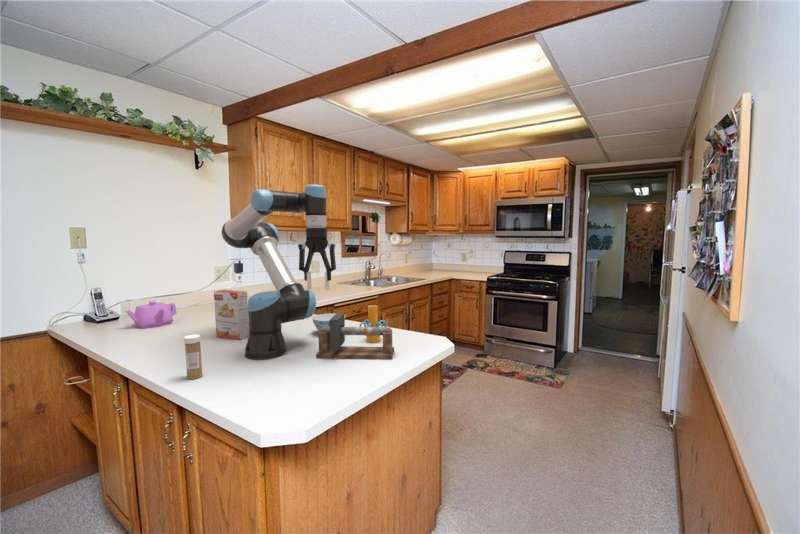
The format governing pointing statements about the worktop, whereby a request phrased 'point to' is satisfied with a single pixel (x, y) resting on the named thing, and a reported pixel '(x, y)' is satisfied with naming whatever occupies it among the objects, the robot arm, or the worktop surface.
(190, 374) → the sprinkles bottle
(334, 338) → the collar
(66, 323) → the worktop surface
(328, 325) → the chinaware
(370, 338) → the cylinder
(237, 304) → the cracker box
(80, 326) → the worktop surface
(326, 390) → the worktop surface
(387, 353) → the pipe stand
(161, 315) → the teakettle
